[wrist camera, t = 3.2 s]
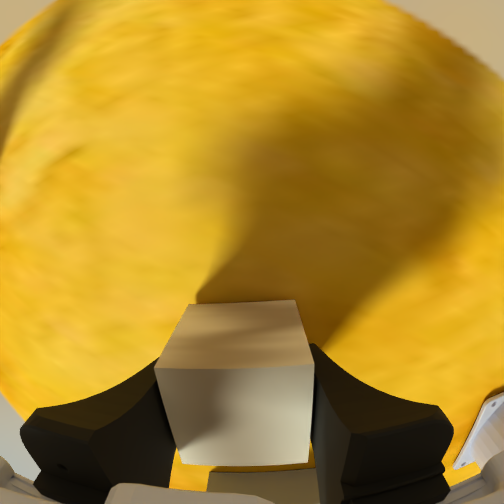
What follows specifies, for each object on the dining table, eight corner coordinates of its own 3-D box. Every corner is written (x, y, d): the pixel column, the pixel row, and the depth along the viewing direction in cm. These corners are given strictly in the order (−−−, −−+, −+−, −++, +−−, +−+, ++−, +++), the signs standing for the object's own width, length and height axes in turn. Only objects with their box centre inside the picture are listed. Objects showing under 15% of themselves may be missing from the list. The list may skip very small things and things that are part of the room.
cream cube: (294, 299, 13) (314, 363, 8) (294, 385, 14) (307, 462, 9) (188, 304, 13) (153, 367, 8) (202, 388, 14) (182, 463, 9)
